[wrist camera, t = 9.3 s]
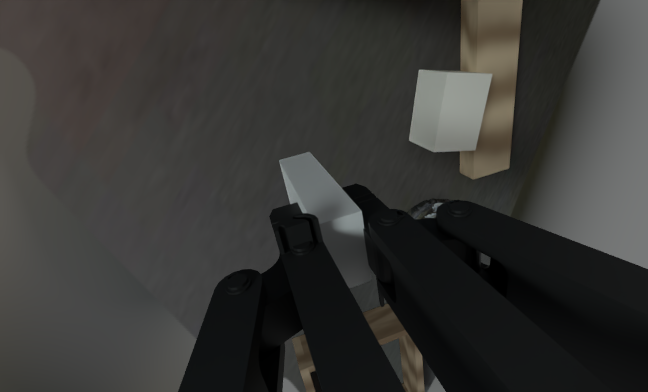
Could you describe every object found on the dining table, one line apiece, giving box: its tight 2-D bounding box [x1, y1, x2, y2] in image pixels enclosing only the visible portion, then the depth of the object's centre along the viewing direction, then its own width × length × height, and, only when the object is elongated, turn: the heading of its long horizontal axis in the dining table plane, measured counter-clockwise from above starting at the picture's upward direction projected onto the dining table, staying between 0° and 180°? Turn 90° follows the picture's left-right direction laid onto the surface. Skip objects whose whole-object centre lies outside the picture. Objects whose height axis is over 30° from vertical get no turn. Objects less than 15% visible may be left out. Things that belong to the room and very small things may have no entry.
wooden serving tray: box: [292, 304, 425, 392], centre depth 57 cm, size 23×19×6 cm
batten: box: [460, 0, 523, 179], centre depth 43 cm, size 24×6×3 cm, turn 11°
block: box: [409, 70, 492, 152], centre depth 41 cm, size 9×6×6 cm, turn 178°
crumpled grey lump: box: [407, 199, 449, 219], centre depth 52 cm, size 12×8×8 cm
